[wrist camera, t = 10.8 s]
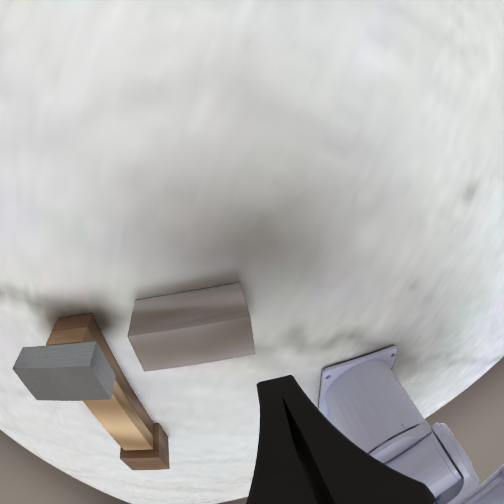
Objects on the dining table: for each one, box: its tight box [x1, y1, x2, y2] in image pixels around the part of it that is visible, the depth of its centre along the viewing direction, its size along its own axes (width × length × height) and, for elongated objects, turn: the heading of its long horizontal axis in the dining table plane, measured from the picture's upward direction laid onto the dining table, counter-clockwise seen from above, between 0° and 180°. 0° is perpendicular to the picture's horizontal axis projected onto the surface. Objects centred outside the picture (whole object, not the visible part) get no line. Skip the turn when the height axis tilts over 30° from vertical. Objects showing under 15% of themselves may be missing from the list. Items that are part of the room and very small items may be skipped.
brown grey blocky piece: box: [52, 282, 255, 470], centre depth 21 cm, size 18×14×4 cm
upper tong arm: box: [46, 327, 153, 450], centre depth 19 cm, size 14×3×2 cm, turn 6°
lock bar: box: [13, 341, 116, 401], centre depth 14 cm, size 3×6×2 cm, turn 96°
